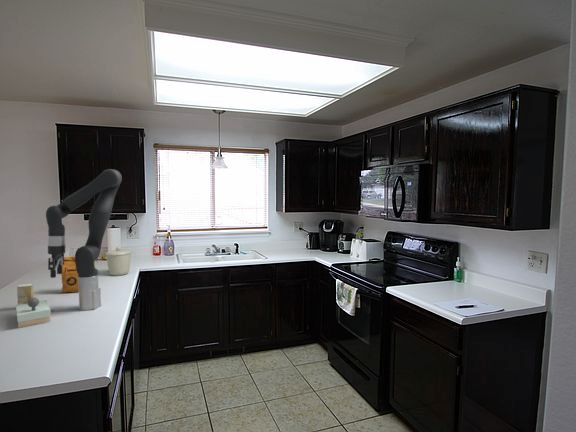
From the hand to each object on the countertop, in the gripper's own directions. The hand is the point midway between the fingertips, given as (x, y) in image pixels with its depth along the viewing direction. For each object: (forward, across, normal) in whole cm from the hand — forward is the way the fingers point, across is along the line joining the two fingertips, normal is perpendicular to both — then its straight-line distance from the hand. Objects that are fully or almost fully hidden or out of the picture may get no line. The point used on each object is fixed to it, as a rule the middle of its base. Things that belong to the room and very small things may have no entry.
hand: (56, 275), depth 178 cm
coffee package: (+19, +38, +4) cm, 43 cm away
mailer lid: (+16, -11, +6) cm, 20 cm away
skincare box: (+19, +10, +18) cm, 28 cm away
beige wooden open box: (+19, -11, +6) cm, 22 cm away
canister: (+18, +81, -14) cm, 84 cm away
